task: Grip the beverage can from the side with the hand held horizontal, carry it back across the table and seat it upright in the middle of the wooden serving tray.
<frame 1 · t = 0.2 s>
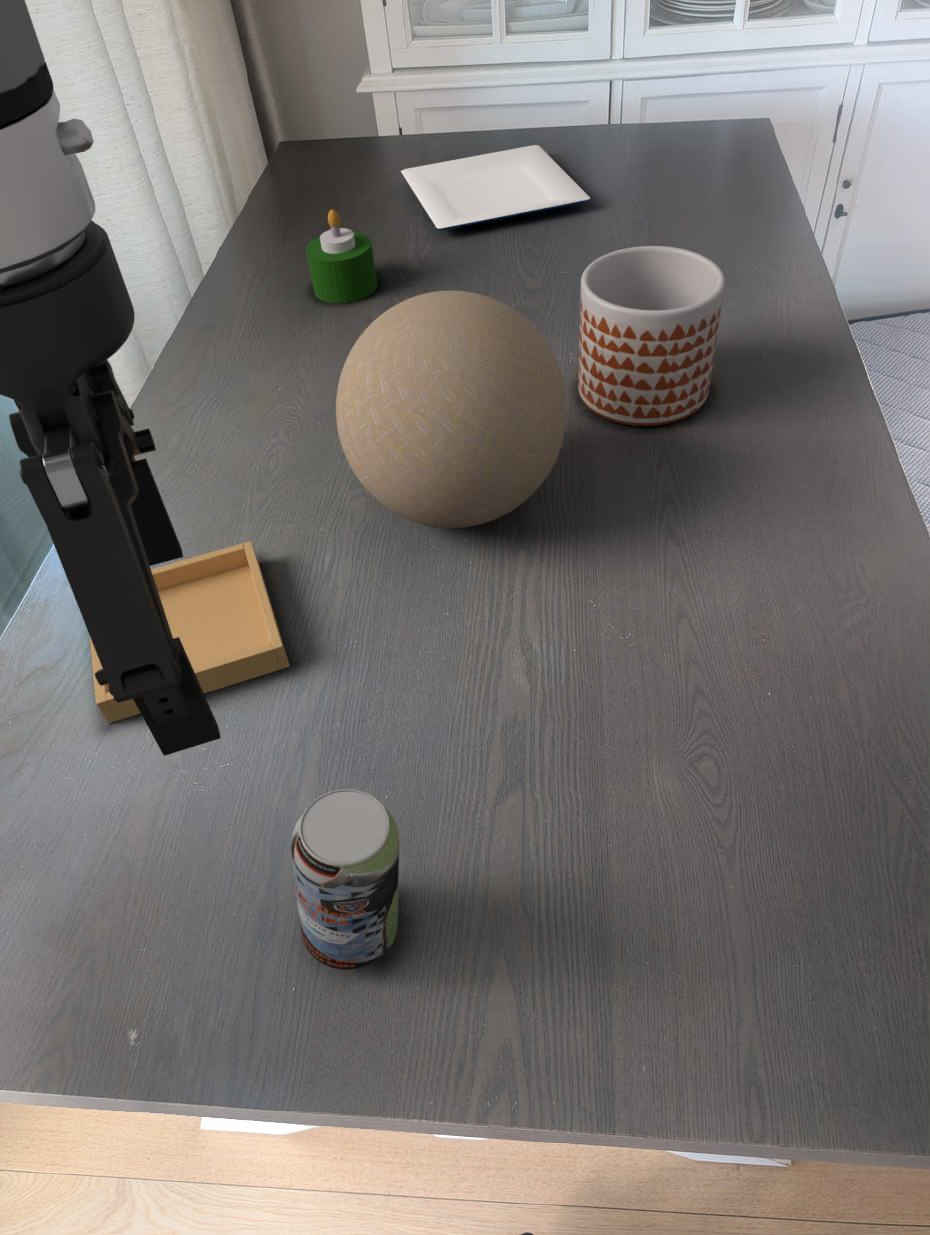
hand: (174, 642, 47), 21 cm above the table, tool pointing down, fingers open, 13 cm apart
decorative sphere: (460, 502, 85), on the table
beverage can: (362, 926, 57), on the table
planter: (642, 392, 96), on the table
candle: (346, 288, 116), on the table
wooden serving tray: (189, 636, 76), on the table
plate: (492, 198, 133), on the table
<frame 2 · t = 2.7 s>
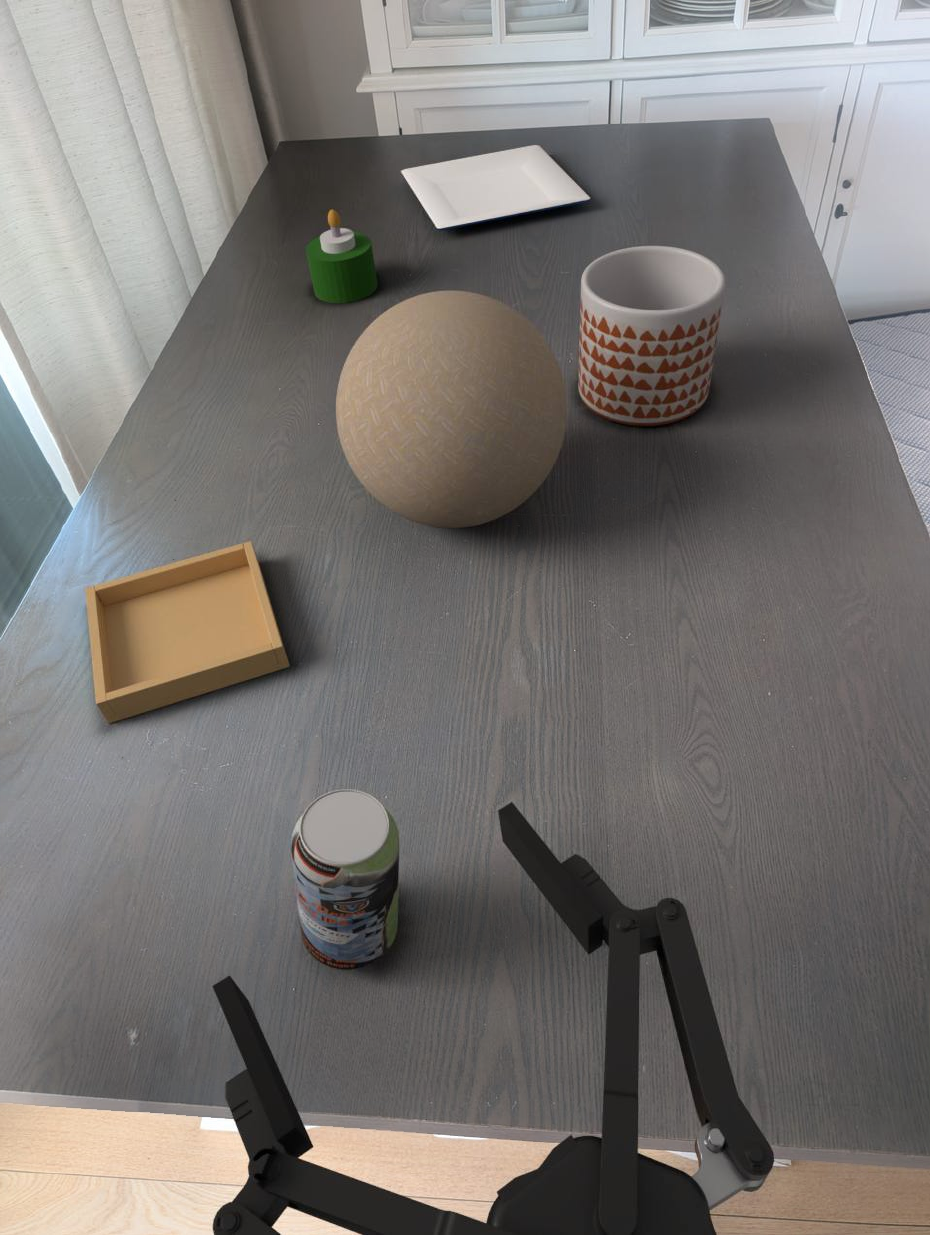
hand: (375, 902, 39), 18 cm above the table, tool horizontal, fingers open, 13 cm apart
nothing on the table moved.
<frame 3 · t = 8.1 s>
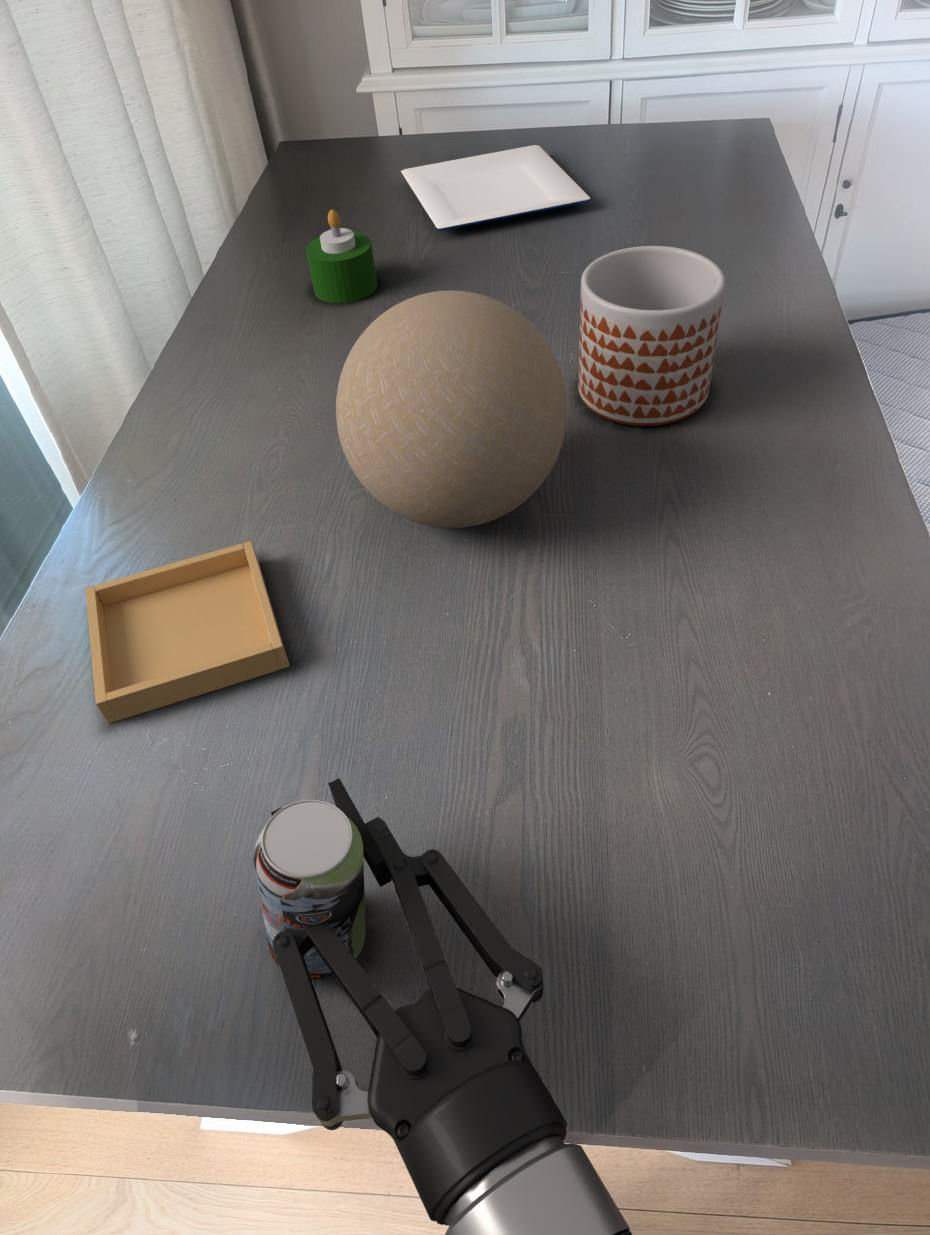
hand: (309, 807, 56), 7 cm above the table, tool horizontal, fingers closed on beverage can, 3 cm apart
beverage can: (331, 936, 57), on the table, touching gripper
everything else where it was.
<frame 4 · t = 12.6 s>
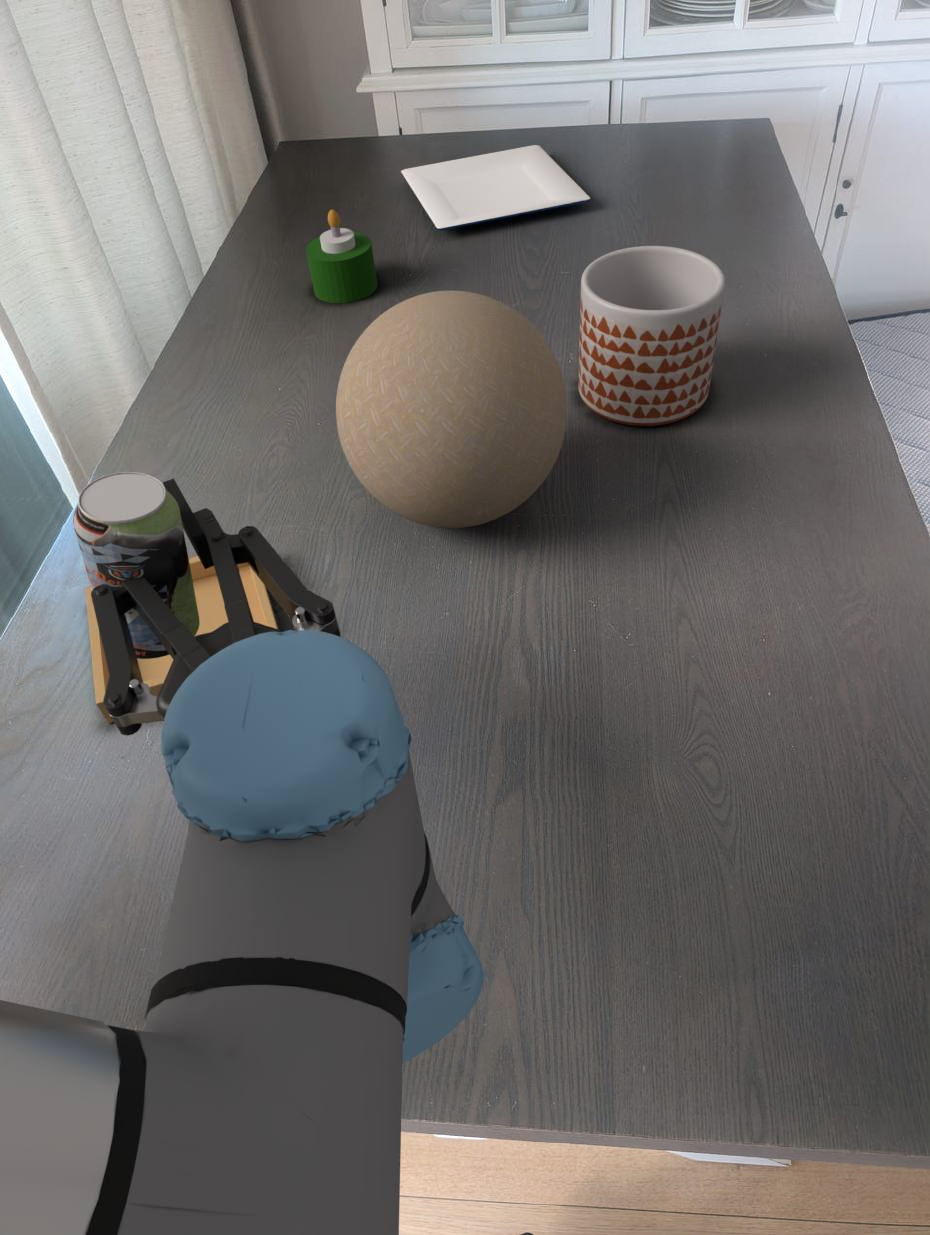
hand: (147, 506, 59), 18 cm above the table, tool horizontal, fingers closed on beverage can, 3 cm apart
beverage can: (169, 634, 61), point 11 cm above the table, touching gripper
everything else where it was.
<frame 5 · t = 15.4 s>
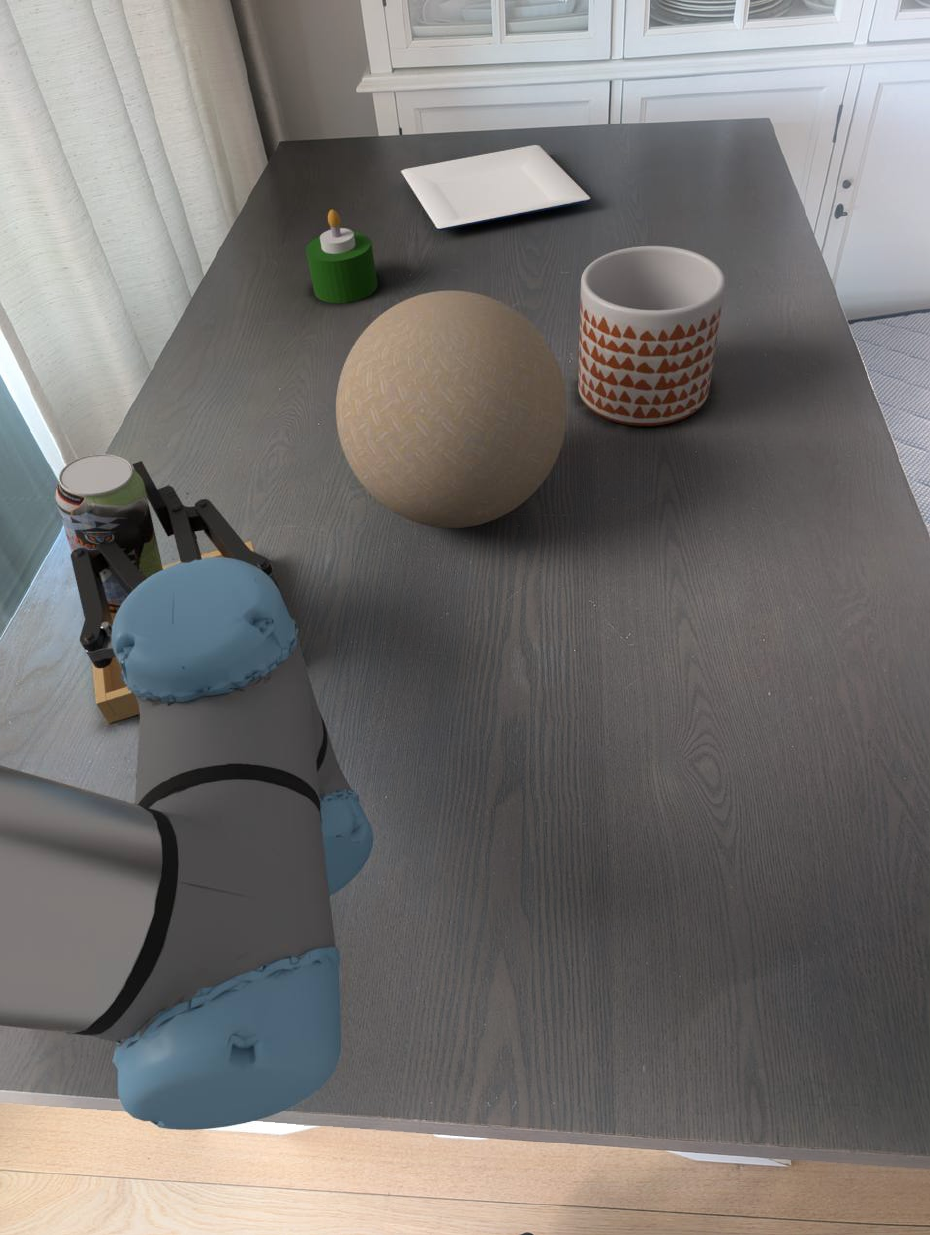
hand: (119, 485, 70), 13 cm above the table, tool horizontal, fingers closed on beverage can, 3 cm apart
beverage can: (139, 594, 71), point 6 cm above the table, touching gripper
everything else where it was.
when the fingers open (7 cm above the table, at t = 17.1 s): beverage can stays where it is, resting on wooden serving tray.
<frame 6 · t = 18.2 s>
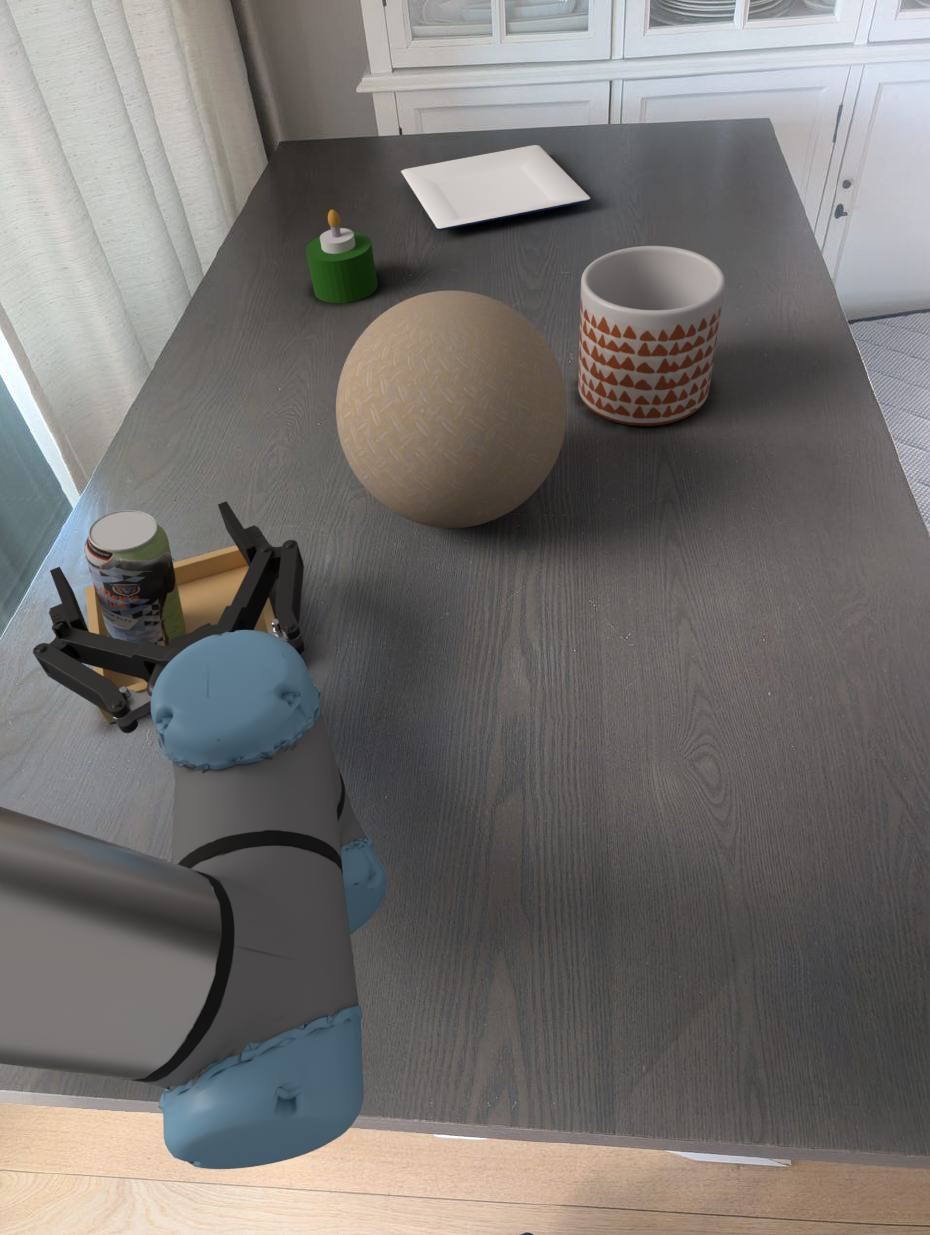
hand: (146, 546, 72), 8 cm above the table, tool horizontal, fingers open, 13 cm apart
beverage can: (161, 639, 75), resting on wooden serving tray
everything else where it was.
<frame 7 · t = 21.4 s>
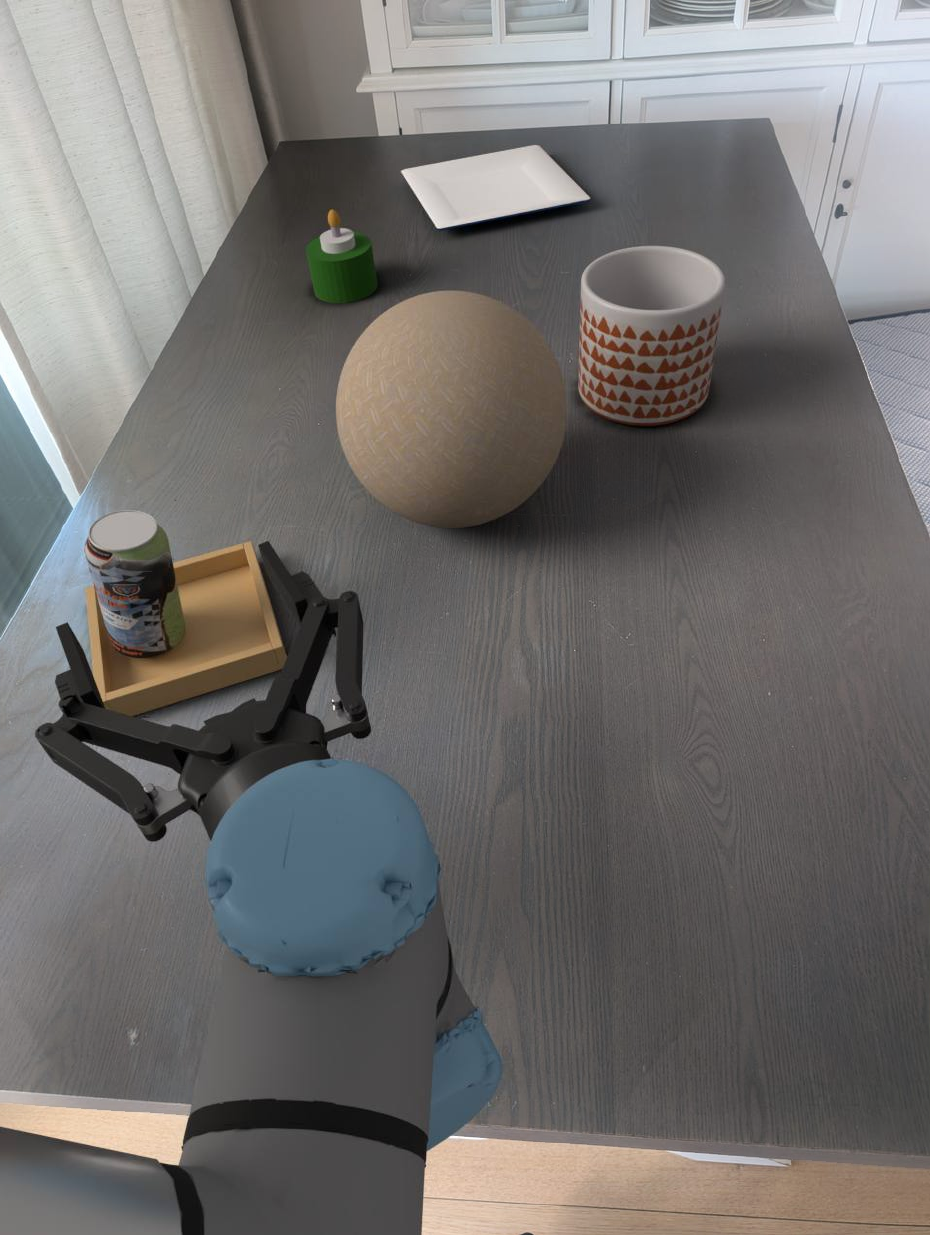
hand: (171, 596, 59), 14 cm above the table, tool horizontal, fingers open, 13 cm apart
nothing on the table moved.
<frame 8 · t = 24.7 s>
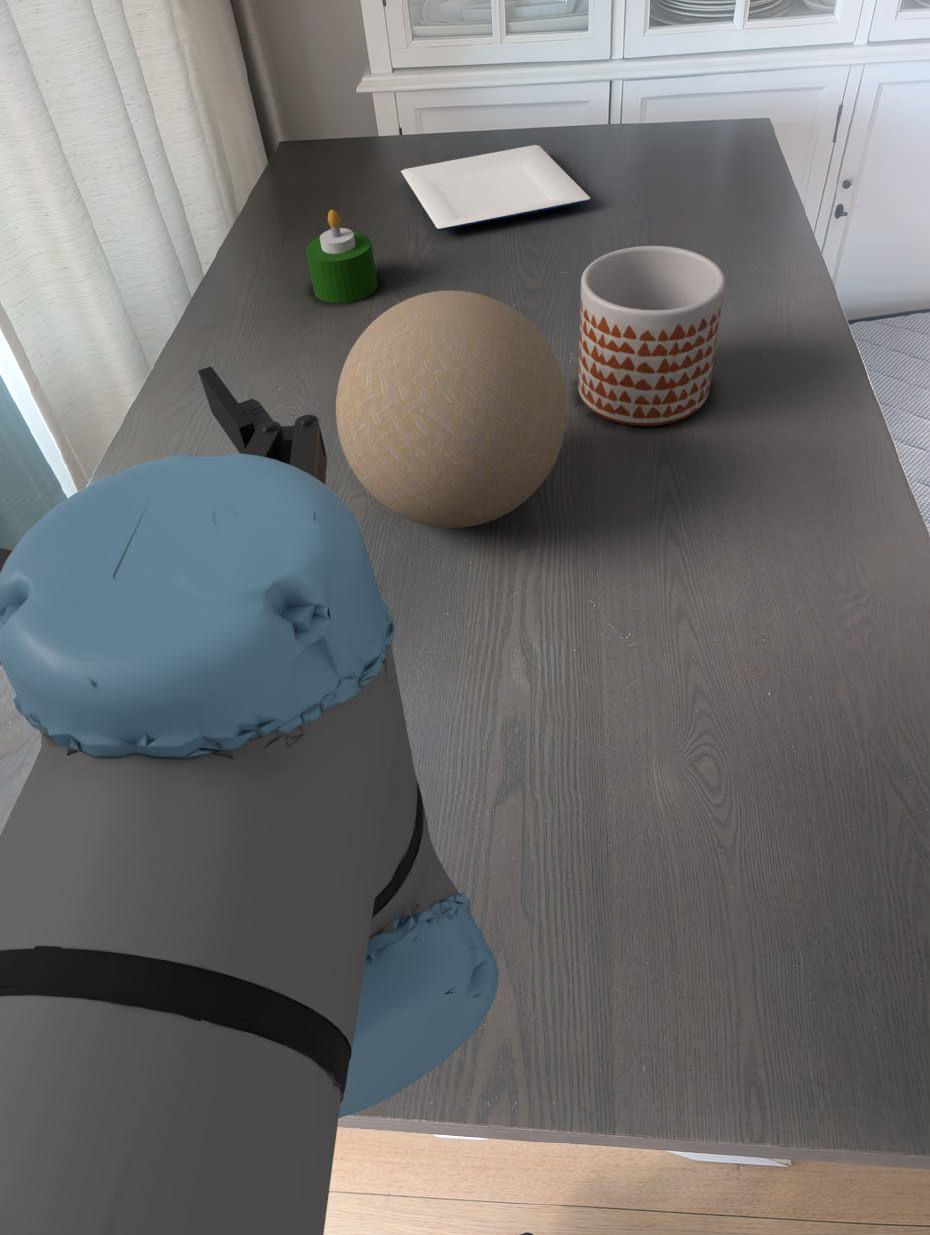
hand: (90, 431, 48), 28 cm above the table, tool horizontal, fingers open, 13 cm apart
nothing on the table moved.
at the end: beverage can inside the target area in the wooden serving tray (2.2 cm from its centre), point 0.4 cm above the wooden serving tray's base; beverage can tilted 0°; the gripper is holding nothing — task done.
